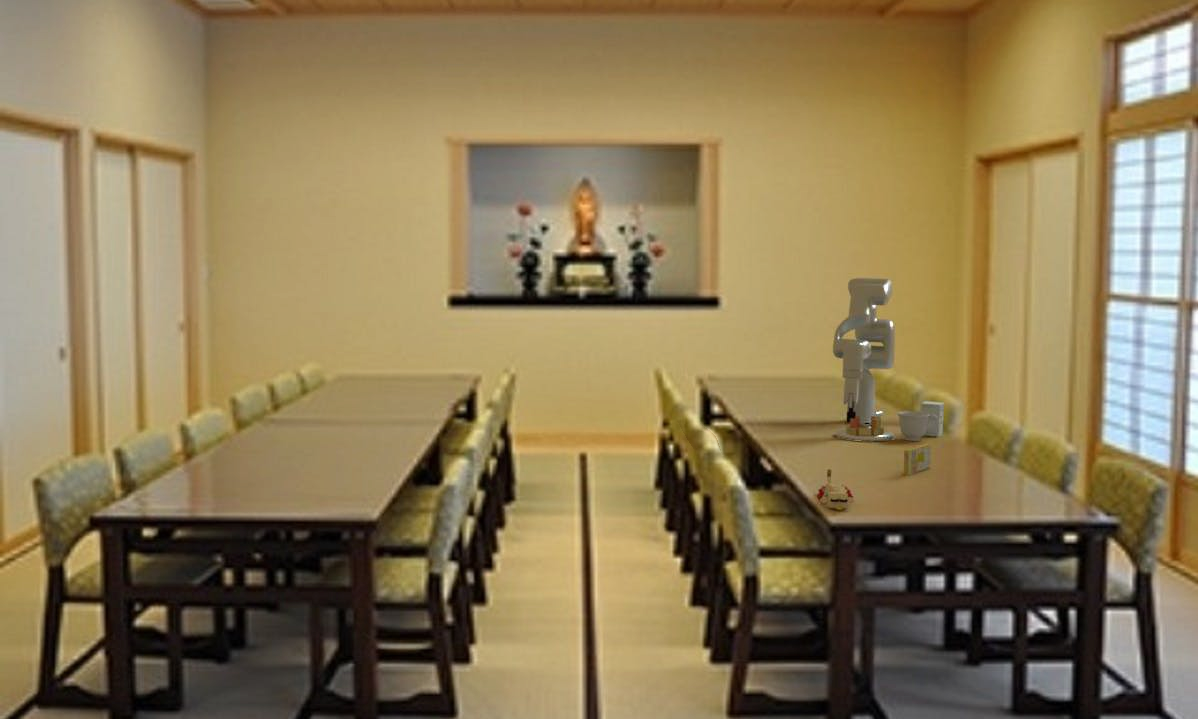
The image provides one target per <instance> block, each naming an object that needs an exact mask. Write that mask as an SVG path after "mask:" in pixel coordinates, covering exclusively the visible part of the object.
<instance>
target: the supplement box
mask: <svg viewBox="0 0 1198 719" xmlns="http://www.w3.org/2000/svg"><path fill="white" fill-rule="evenodd" d="M944 407H945V402H937V401H927V400H926V401H923V402H922V403H921V408H920V412H924V413H929V414H930V416H931V415H936V416H937V418H938V423H937V424H936V425H935V426H933V427H930V428H928V429H927V430H926V432H925V434H924V435H923V436H925V437H926V436H927V437H935V436H936V437H937V438H939V437H941V436H942V435H943V426H944V410H945V409H944ZM930 416H929V419H930ZM935 421H936V419H935V418H934V417H932V418H931V420H928V421H927V426H926V428H927V427H928V426H929V425H932V424H934V423H935Z"/></svg>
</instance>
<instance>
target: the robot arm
mask: <svg viewBox="0 0 1198 719" xmlns="http://www.w3.org/2000/svg"><path fill="white" fill-rule="evenodd" d="M847 290H848V292H849V295H850V296H849V297H850V300H849V310H848V316H847V317H845V319H843V320H842V321H841V322H840V324H838V326H837V328H836V329H835V331H834V336H833V345H832V353H833V356H834V357H835V358H836V359H842V375H841V376H842V378H843V379H844V388H843V405H846V404H847V406H846V408H847V409H846V410H847V411H846V423H850V418H856V415H859V416H860V424H865V423H869V424H871V416H881V417H882V416H883V415H884V414H883V411H877V410H876V409H875V407H876V406H875V405H876V404H875V402H876V378H875V375H874V374H873V373H872V371H871V370H872V369H873V370H874V369H875V370H890V369H891V368H893V366H894V364H895V351H896V350H895V346H896V344H895V343H896V341H895V340H896V339H895V338H896V332H895V330H896V328H895V324H894V322H893V321H892V320H890V319H885V318H884V319H881V318H877V310H878V309H877V306H886V305H888V303H889V301H890V300H891V297H892V294H893V283H892V282H891V280H890V279H887V278H872V277H871V278H869V277H856V278H851V279H850V280H849V281H848V284H847ZM853 330H854V337H855V339H852V338H849V339H848V338H843V337H844V336H845V334H847V333H849V332H851V331H853ZM871 343H881V344H882V345H875V344H874V345H871Z"/></svg>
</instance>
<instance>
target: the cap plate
mask: <svg viewBox="0 0 1198 719" xmlns="http://www.w3.org/2000/svg"><path fill="white" fill-rule="evenodd" d="M859 428H871V426H865V425H861V426H859ZM835 435H836V436H837V437H840V438H845V439H851V440H861V441H860V442H862V441H884V442H887V441H886V440H891V441H893V440H892V439H894V438H895V436H896V434H895V433H893V432H892V431H887V430H884V434H883V435H876V436H873V435H871V436H865V435H854V434H849V433H846V428H842V429H838V430H836V431H835ZM836 436H835V437H836ZM837 437H836V438H837ZM840 438H839V439H840ZM845 439H844V440H845ZM851 440H850V441H851ZM894 440H895V439H894Z"/></svg>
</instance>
